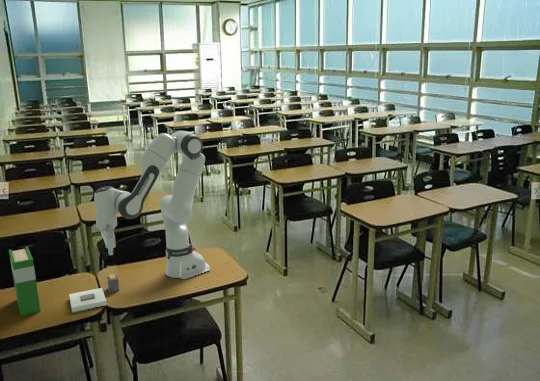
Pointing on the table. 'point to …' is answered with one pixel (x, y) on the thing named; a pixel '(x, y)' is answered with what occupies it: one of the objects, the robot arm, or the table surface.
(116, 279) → the plug
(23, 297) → the hardback book
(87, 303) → the socket plate
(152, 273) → the table surface
